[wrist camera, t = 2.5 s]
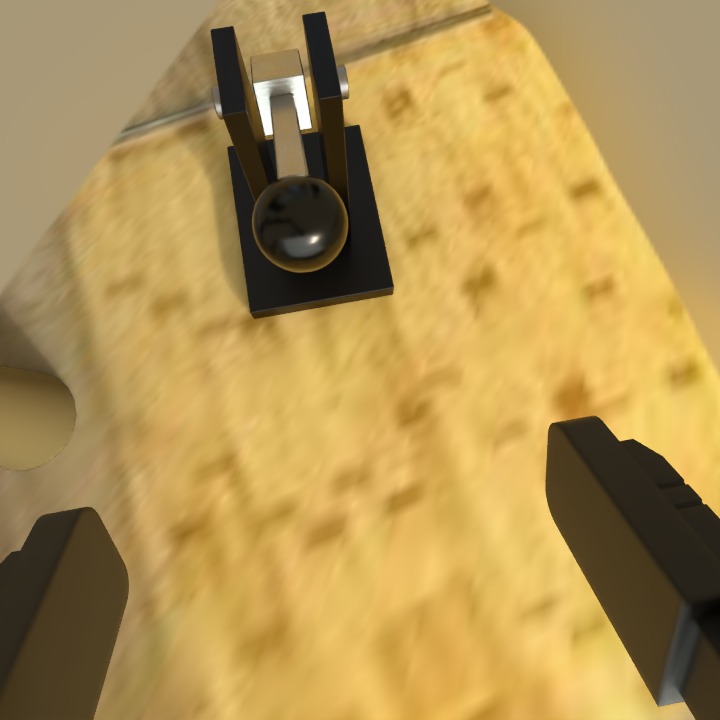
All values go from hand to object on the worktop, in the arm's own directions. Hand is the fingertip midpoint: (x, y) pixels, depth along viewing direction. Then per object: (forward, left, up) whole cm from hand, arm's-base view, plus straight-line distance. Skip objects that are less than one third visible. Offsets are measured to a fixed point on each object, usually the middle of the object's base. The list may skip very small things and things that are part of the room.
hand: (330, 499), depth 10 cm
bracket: (-3, +18, -23) cm, 29 cm away
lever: (-2, +13, -10) cm, 16 cm away
